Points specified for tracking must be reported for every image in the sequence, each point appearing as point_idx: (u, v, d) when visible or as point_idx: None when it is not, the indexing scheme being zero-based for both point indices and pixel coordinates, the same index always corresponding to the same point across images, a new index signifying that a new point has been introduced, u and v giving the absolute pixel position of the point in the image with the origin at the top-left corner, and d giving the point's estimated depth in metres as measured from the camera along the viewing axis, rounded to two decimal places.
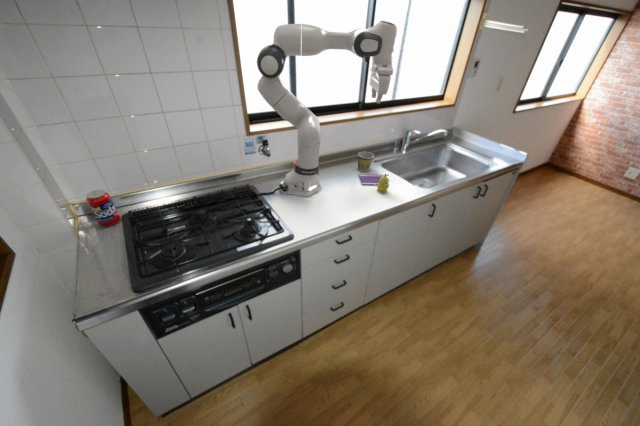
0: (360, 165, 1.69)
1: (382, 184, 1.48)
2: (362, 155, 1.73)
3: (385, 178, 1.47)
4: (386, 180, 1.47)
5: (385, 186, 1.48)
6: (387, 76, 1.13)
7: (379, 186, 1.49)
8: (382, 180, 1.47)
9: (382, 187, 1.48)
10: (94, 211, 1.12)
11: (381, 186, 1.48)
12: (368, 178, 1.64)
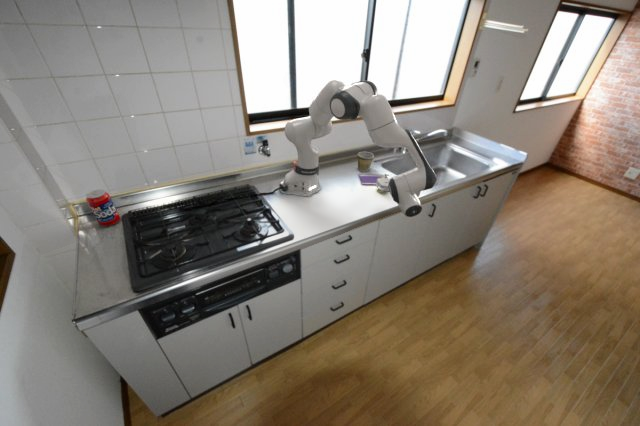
0: (360, 165, 1.69)
1: None
2: (362, 155, 1.73)
3: None
4: None
5: None
6: None
7: None
8: None
9: None
10: (94, 211, 1.12)
11: None
12: (368, 178, 1.64)
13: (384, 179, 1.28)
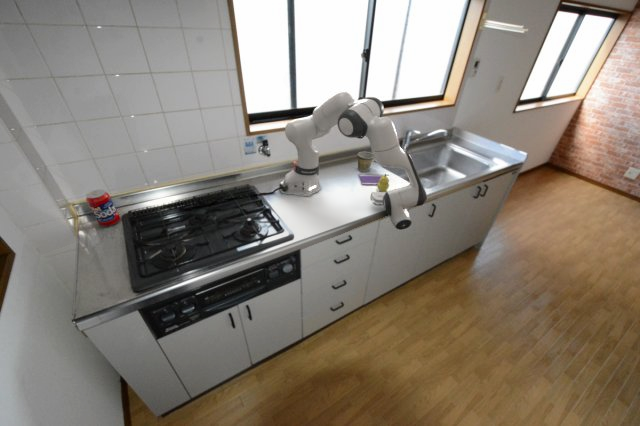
0: (360, 165, 1.69)
1: (382, 184, 1.48)
2: (362, 155, 1.73)
3: (385, 178, 1.47)
4: (386, 180, 1.47)
5: (385, 186, 1.48)
6: None
7: (379, 186, 1.49)
8: (382, 180, 1.47)
9: (382, 187, 1.48)
10: (94, 211, 1.12)
11: (381, 186, 1.48)
12: (368, 178, 1.64)
13: (378, 193, 1.37)
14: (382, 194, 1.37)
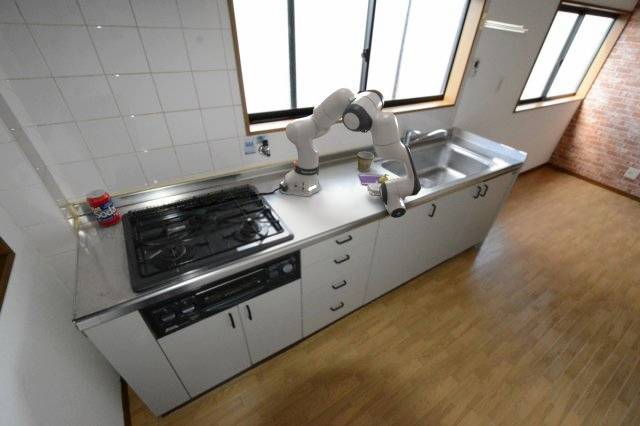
0: (360, 165, 1.69)
1: None
2: (362, 155, 1.73)
3: (385, 178, 1.47)
4: (386, 180, 1.47)
5: None
6: None
7: None
8: (382, 180, 1.47)
9: None
10: (94, 211, 1.12)
11: None
12: (368, 178, 1.64)
13: (375, 184, 1.44)
14: (378, 185, 1.43)
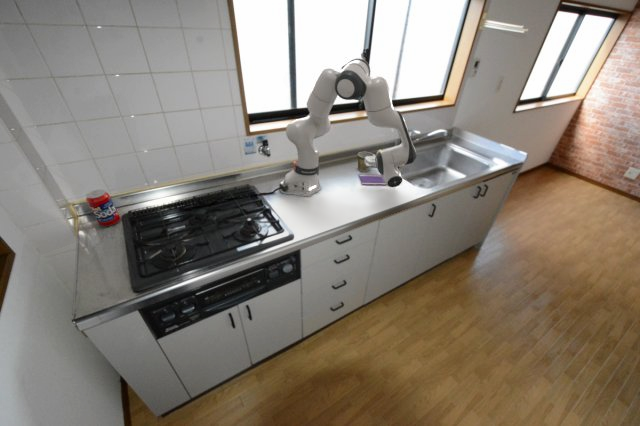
0: (360, 165, 1.69)
1: None
2: (362, 155, 1.73)
3: None
4: None
5: None
6: None
7: None
8: None
9: None
10: (94, 211, 1.12)
11: None
12: (368, 178, 1.64)
13: (372, 157, 1.45)
14: (375, 158, 1.44)
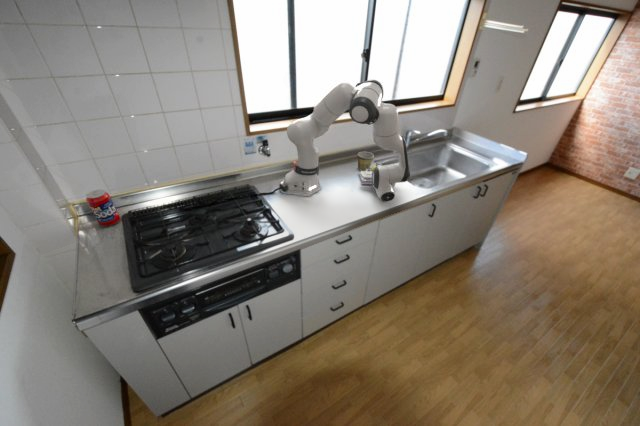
0: (360, 165, 1.69)
1: None
2: (362, 155, 1.73)
3: None
4: None
5: None
6: None
7: None
8: None
9: None
10: (94, 211, 1.12)
11: None
12: None
13: (366, 171, 1.54)
14: (370, 173, 1.53)
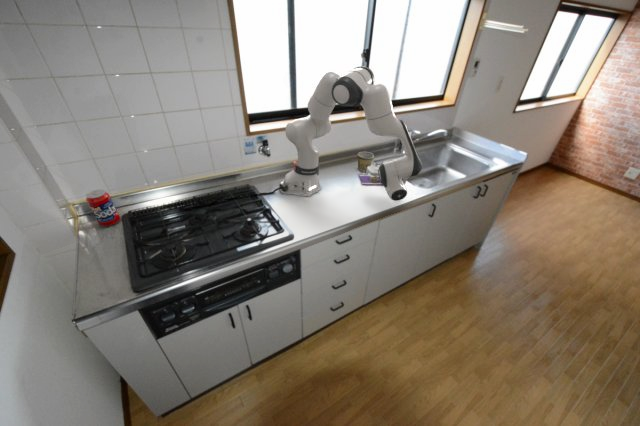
0: (360, 165, 1.69)
1: None
2: (362, 155, 1.73)
3: None
4: None
5: None
6: None
7: None
8: None
9: None
10: (94, 211, 1.12)
11: None
12: (368, 178, 1.64)
13: (374, 167, 1.38)
14: (378, 168, 1.37)
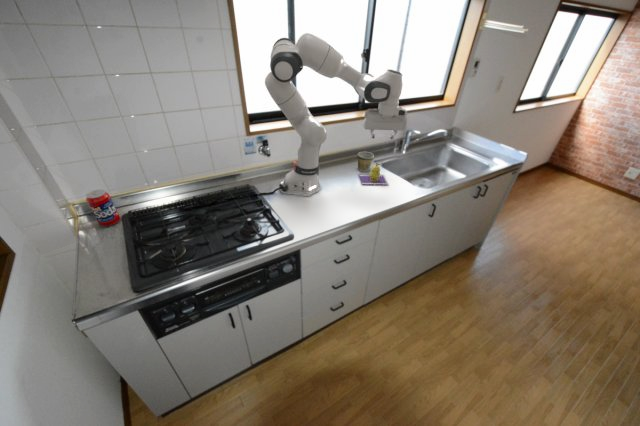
0: (360, 165, 1.69)
1: (374, 173, 1.58)
2: (362, 155, 1.73)
3: (376, 167, 1.56)
4: (377, 169, 1.57)
5: (377, 175, 1.58)
6: None
7: (371, 175, 1.59)
8: (374, 169, 1.57)
9: (374, 176, 1.58)
10: (94, 211, 1.12)
11: (373, 175, 1.58)
12: (368, 178, 1.64)
13: None
14: None
